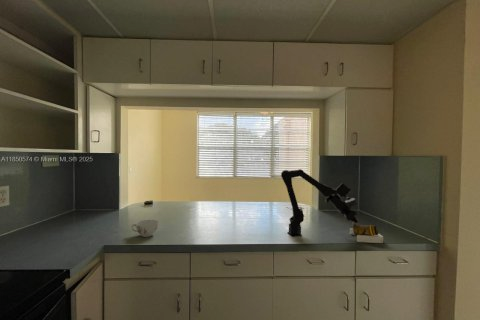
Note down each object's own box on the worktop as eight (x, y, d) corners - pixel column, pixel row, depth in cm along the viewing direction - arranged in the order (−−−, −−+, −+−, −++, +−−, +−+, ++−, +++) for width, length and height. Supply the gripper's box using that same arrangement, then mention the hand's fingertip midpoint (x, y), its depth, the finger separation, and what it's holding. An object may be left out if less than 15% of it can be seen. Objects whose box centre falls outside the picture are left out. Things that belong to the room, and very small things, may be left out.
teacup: (160, 232, 156) (160, 219, 155) (155, 239, 143) (155, 225, 143) (135, 232, 155) (135, 219, 154) (127, 239, 142) (127, 225, 142)
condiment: (354, 236, 146) (377, 236, 139) (351, 221, 149) (374, 220, 142) (357, 237, 152) (379, 236, 145) (355, 222, 155) (377, 221, 148)
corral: (357, 241, 144) (357, 235, 144) (349, 233, 158) (350, 228, 158) (382, 243, 142) (383, 236, 142) (373, 235, 156) (373, 229, 156)
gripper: (353, 196, 141) (373, 217, 140) (343, 191, 160) (361, 209, 159) (338, 209, 142) (358, 230, 141) (330, 203, 161) (348, 221, 160)
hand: (357, 222), depth 150 cm, fingers closed
